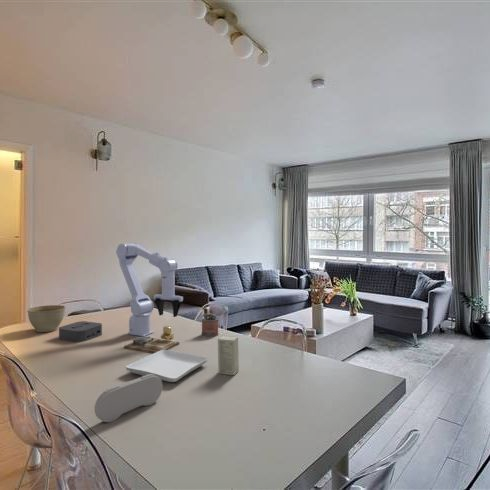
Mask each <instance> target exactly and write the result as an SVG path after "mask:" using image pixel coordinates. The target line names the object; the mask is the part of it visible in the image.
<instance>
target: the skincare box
mask: <svg viewBox="0 0 490 490" xmlns="http://www.w3.org/2000/svg"><path fill="white" fill-rule="evenodd" d="M217 359H218V361H217V362H218V364H217V365H218V368H217V369H218V374H222V375H230V376H235V375H237V373H238V372H239V371H240V370H239V368H240V366H239V365H240V364H239V337H238V336H231V335H221V336H220V337H219V338H217Z"/></svg>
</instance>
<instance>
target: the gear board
mask: <svg viewBox="0 0 490 490" xmlns="http://www.w3.org/2000/svg"><path fill="white" fill-rule="evenodd" d="M178 345H180V342H179V341H177V340H173V339H169V340H167V339H161V337H158V338H155V337H151V336H150V335H149V336H148V335H147V336H139V337H135V338H134V339H132V342H130V343H128V344H125V345H124V346H123V348H124V349H129V350H135V351H138V352H139V351H141V352H146V353H150V354H153V353H156V352H158V351H161V350H170V349H172V348H174V347H176V346H178Z"/></svg>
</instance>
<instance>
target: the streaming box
mask: <svg viewBox="0 0 490 490" xmlns="http://www.w3.org/2000/svg"><path fill="white" fill-rule="evenodd" d="M102 335H103V324H102V323H100V322H94V321H93V322H92V321H85V320H81V321H76V322H73V323H70V324H65V325H63V326H58V339H59V340H62V341H68V342H75V343H76V342H77V343H79V342H80V343H81V342H85V341H88V340H92V339H95V338H98V337H100V336H102Z"/></svg>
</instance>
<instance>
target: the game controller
mask: <svg viewBox="0 0 490 490" xmlns="http://www.w3.org/2000/svg"><path fill="white" fill-rule="evenodd" d="M162 381H163V380H161V379H160V378H159V377H157V376H155V375H154V374H148V375H145V376H142V375H141V376H140V377H137V378H134V379H132V380H129V381H126V382H124V383H121V384H118V385H115V386H111V387H109V388H107V389H105V390H104V391H103V392H102V393H101V394H100V395H99V396H98V398H97V399H96V401H95V404H94V414H95V416H96V418H97V419H99V420H100V421H101V422H104V423H111V422H114V421H116V420H117V419H119V418H120V417H121V416H122V415H123V414H124V413H127V412H129V411H131V410H134V409H136V408H139V407H142V406H145V407H148V405H149V406H152V405H153V404H155V403H156V402H157V401H158V400H159V398H160V397H161V395H162V392H163V382H162Z"/></svg>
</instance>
